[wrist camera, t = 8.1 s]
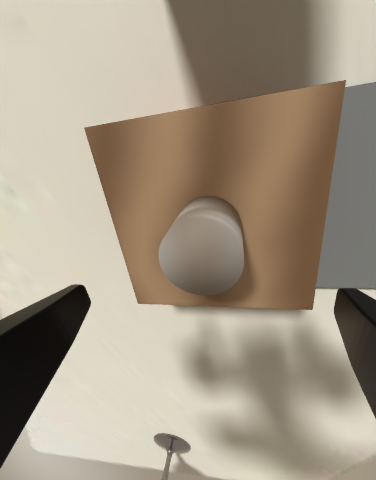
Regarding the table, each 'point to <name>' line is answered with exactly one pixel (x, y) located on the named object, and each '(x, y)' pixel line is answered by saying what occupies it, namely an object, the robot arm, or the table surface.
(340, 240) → the mat
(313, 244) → the lid
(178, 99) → the table surface
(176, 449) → the wine glass
